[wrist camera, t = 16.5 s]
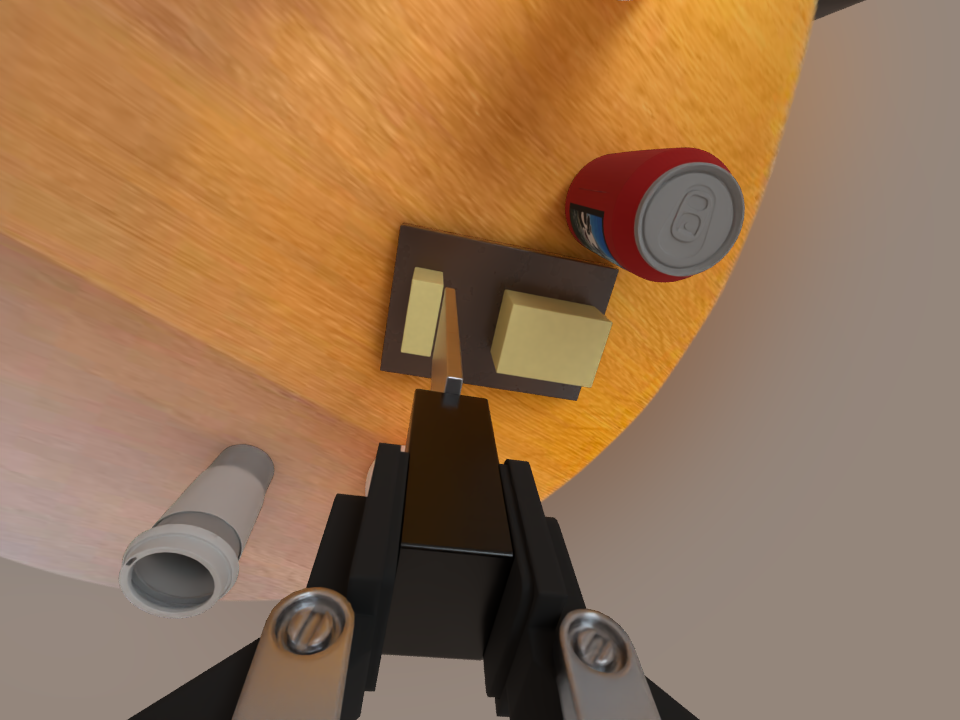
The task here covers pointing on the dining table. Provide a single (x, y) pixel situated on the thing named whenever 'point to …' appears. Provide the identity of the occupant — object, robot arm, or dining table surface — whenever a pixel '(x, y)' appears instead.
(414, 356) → the board
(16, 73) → the dining table surface
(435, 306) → the butter slice
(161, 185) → the dining table surface
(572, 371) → the butter block
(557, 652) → the robot arm
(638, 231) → the beverage can
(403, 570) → the knife
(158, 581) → the cup
